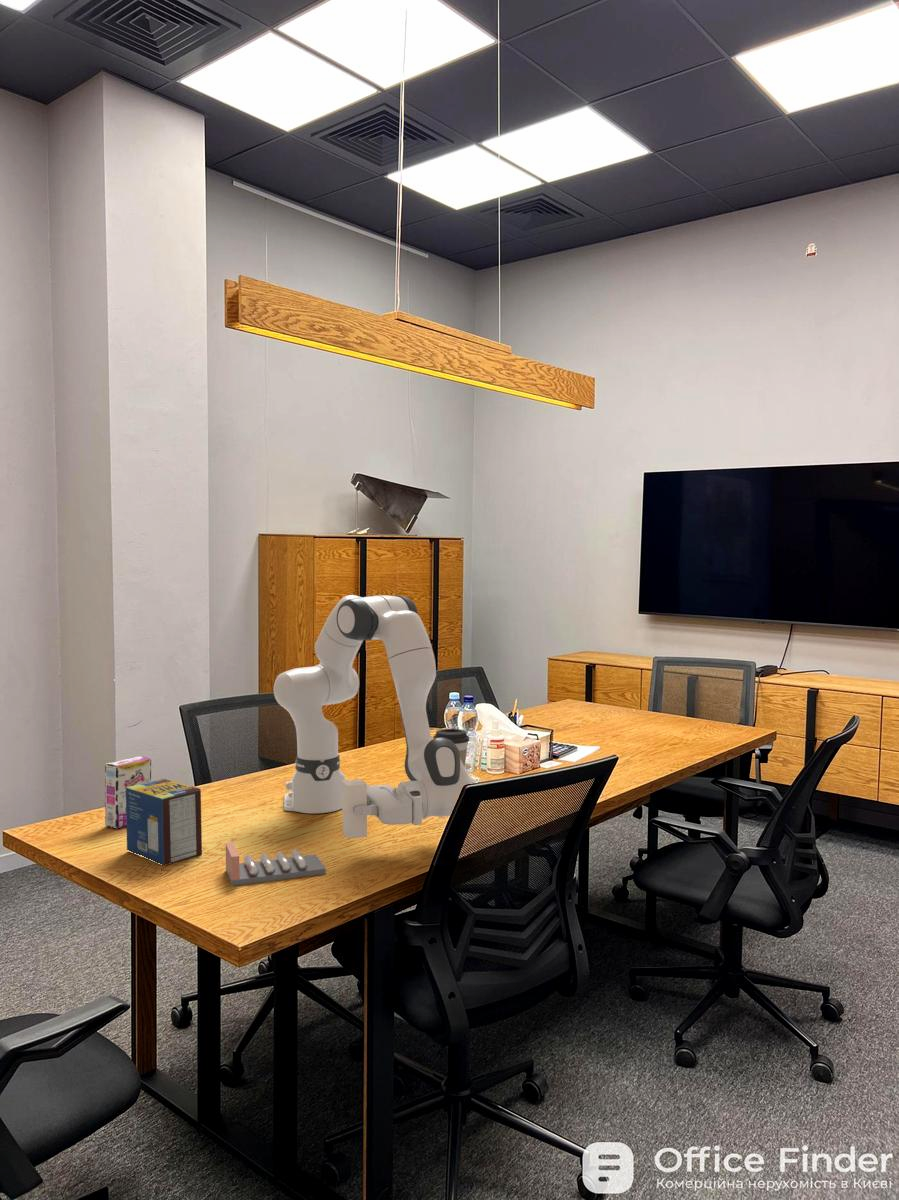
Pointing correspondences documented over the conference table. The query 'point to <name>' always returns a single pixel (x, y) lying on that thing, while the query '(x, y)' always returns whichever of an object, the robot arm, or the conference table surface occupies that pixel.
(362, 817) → the wooden block
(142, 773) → the candy bar box
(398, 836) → the conference table surface
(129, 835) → the protein box
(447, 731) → the coffee cup
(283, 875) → the roller track
